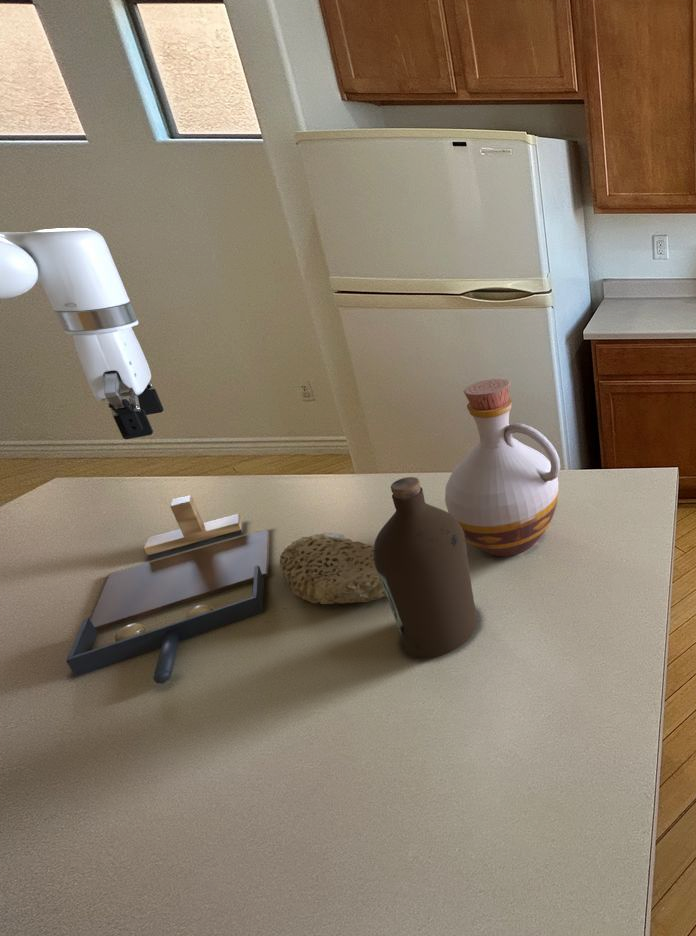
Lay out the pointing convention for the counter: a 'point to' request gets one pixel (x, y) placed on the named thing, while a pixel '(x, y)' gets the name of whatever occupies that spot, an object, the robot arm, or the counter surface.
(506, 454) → the jug
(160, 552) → the brush
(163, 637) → the dustpan
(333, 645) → the counter surface
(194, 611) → the ball
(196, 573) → the board
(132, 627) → the ball
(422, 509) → the olive oil
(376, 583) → the sponge
